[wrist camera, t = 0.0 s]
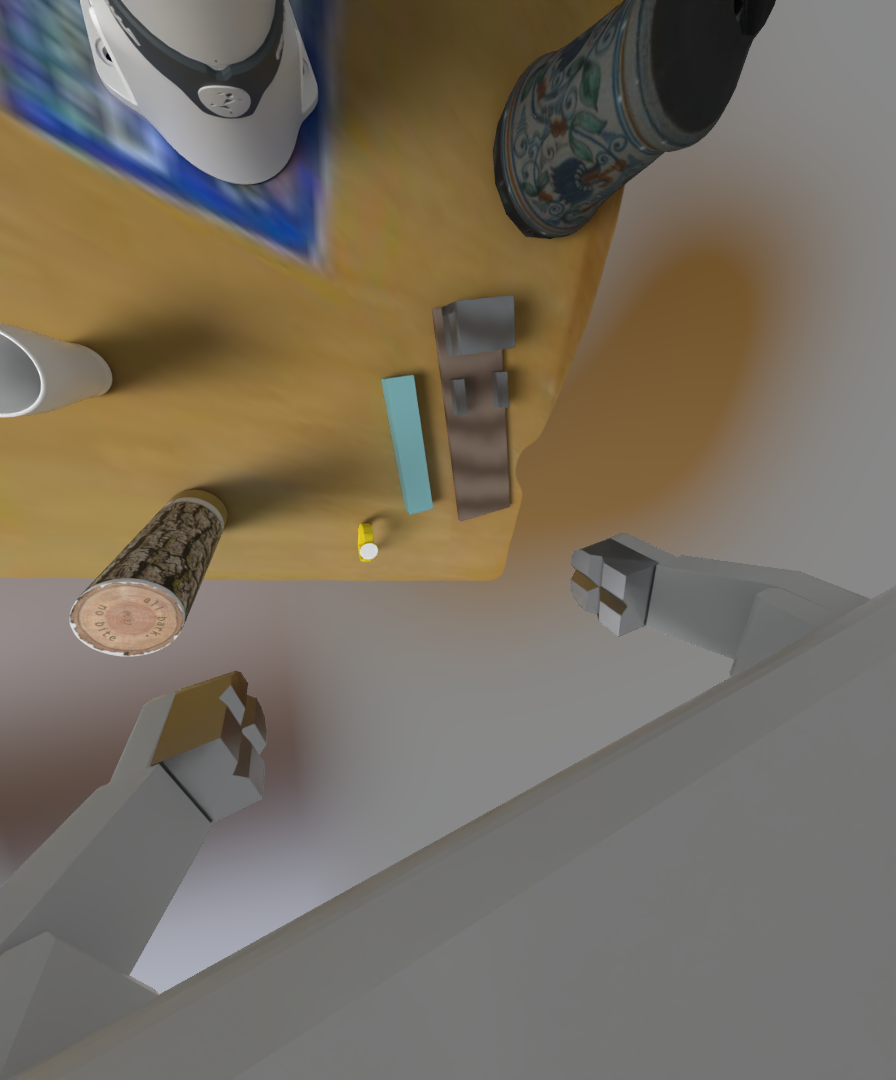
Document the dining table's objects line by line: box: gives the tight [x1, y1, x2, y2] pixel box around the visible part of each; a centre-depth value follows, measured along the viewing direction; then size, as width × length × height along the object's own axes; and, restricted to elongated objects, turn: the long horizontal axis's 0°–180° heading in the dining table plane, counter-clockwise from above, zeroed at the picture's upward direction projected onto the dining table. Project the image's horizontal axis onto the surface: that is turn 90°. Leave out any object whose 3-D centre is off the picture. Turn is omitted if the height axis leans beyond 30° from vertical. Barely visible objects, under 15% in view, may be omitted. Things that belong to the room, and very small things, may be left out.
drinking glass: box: [0, 323, 112, 417], centre depth 32 cm, size 7×7×15 cm
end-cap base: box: [432, 295, 516, 521], centre depth 55 cm, size 32×10×6 cm, turn 8°
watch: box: [358, 523, 378, 562], centre depth 56 cm, size 6×3×6 cm, turn 172°
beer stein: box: [493, 0, 776, 239], centre depth 36 cm, size 16×19×25 cm
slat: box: [381, 375, 433, 515], centre depth 54 cm, size 20×4×3 cm, turn 7°
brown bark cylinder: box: [70, 490, 227, 656], centre depth 38 cm, size 7×7×25 cm
